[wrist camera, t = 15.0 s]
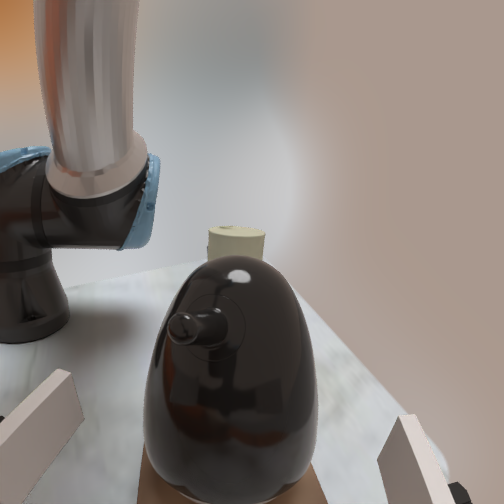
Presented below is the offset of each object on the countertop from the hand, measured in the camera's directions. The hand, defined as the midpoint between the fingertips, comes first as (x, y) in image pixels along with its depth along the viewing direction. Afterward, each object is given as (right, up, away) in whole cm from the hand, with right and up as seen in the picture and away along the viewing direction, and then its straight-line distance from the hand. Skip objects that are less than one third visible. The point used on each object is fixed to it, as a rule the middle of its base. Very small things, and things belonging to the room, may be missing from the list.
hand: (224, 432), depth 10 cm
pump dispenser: (-1, -8, +7) cm, 11 cm away
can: (-2, -1, +42) cm, 43 cm away
